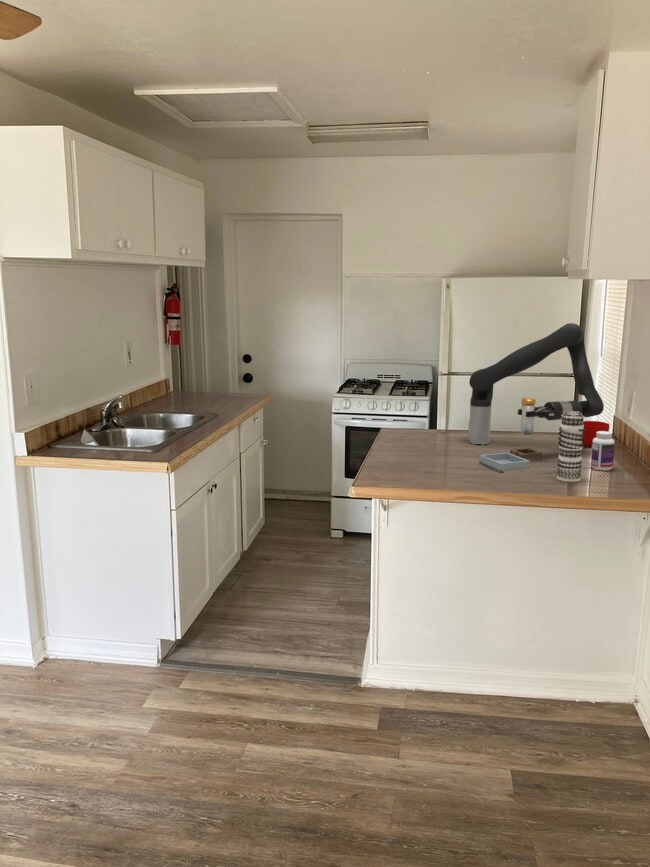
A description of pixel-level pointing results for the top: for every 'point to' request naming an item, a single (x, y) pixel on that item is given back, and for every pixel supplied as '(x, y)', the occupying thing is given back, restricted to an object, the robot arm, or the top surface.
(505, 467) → the tray
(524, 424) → the glass jar
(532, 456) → the square wooden frame
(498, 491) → the top surface
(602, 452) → the pill bottle
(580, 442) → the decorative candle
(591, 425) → the ceramic cup
